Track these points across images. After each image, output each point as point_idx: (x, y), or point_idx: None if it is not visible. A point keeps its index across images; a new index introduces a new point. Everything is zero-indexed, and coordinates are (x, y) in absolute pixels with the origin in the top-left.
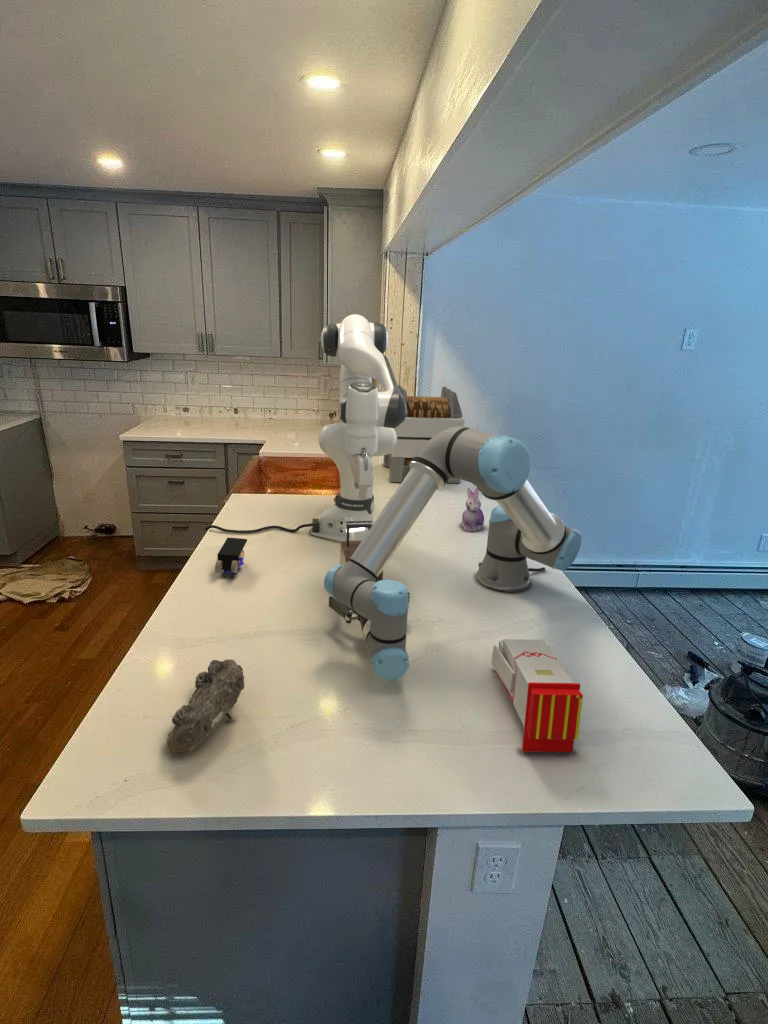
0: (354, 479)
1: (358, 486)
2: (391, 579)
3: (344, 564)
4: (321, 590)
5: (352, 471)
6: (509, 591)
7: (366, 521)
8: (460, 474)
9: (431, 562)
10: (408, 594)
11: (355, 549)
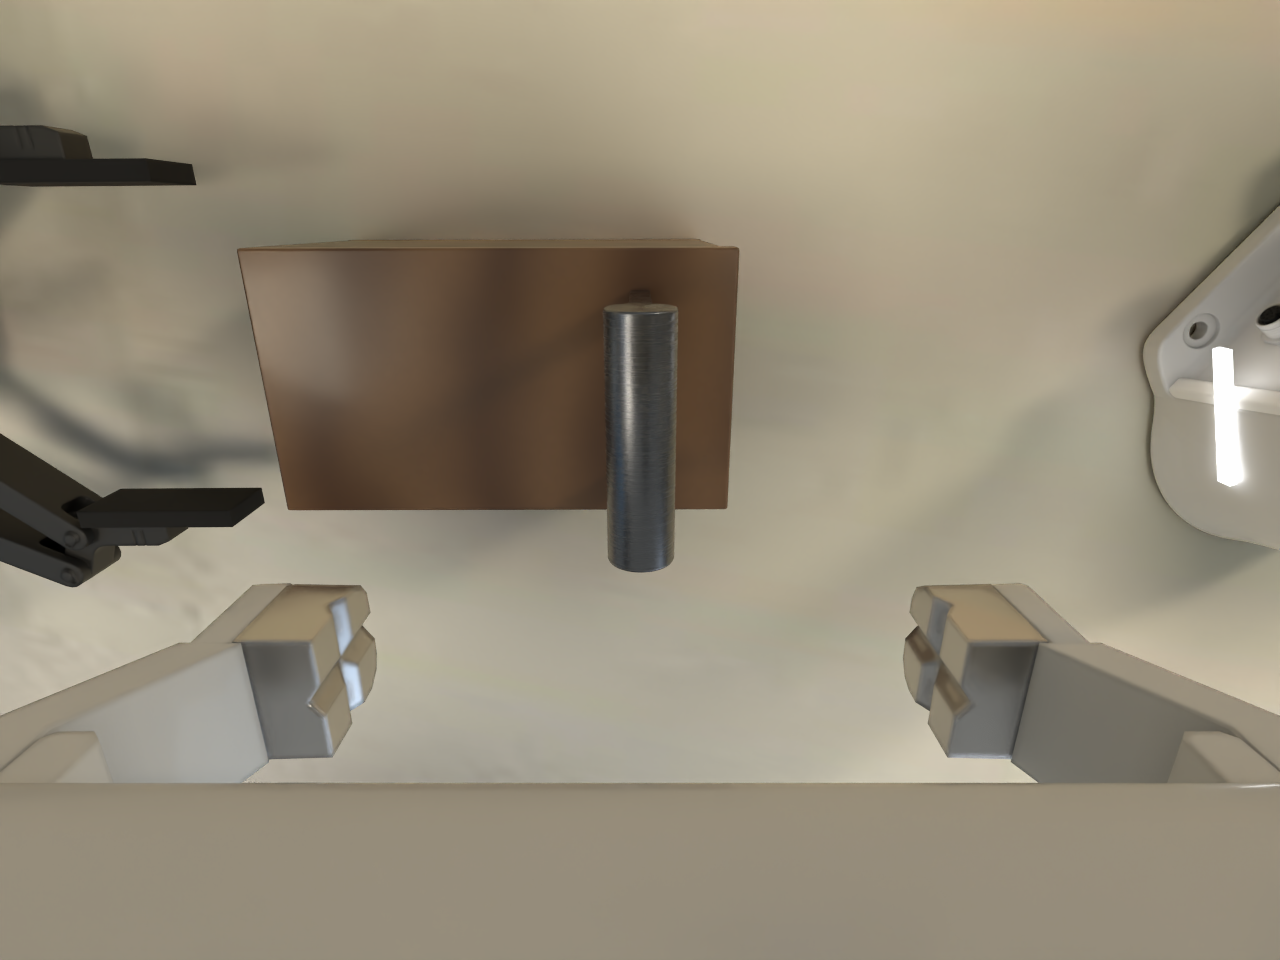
0: (1099, 674)
1: (928, 659)
2: (227, 522)
3: (433, 245)
4: (492, 94)
5: (1095, 834)
6: None
7: (632, 523)
8: None
9: (778, 734)
10: (55, 578)
11: (560, 354)
